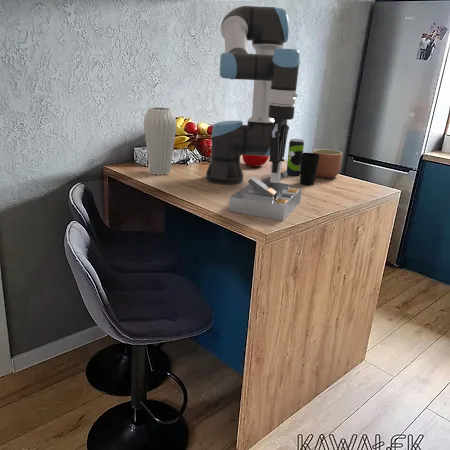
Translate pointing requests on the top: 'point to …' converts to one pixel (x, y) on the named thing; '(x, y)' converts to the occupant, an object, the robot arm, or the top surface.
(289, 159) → the beverage can
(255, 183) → the switch
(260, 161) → the tomato
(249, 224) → the top surface
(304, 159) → the cup
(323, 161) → the planter
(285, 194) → the switch unit
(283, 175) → the switch
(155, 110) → the vase
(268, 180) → the switch
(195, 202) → the top surface
